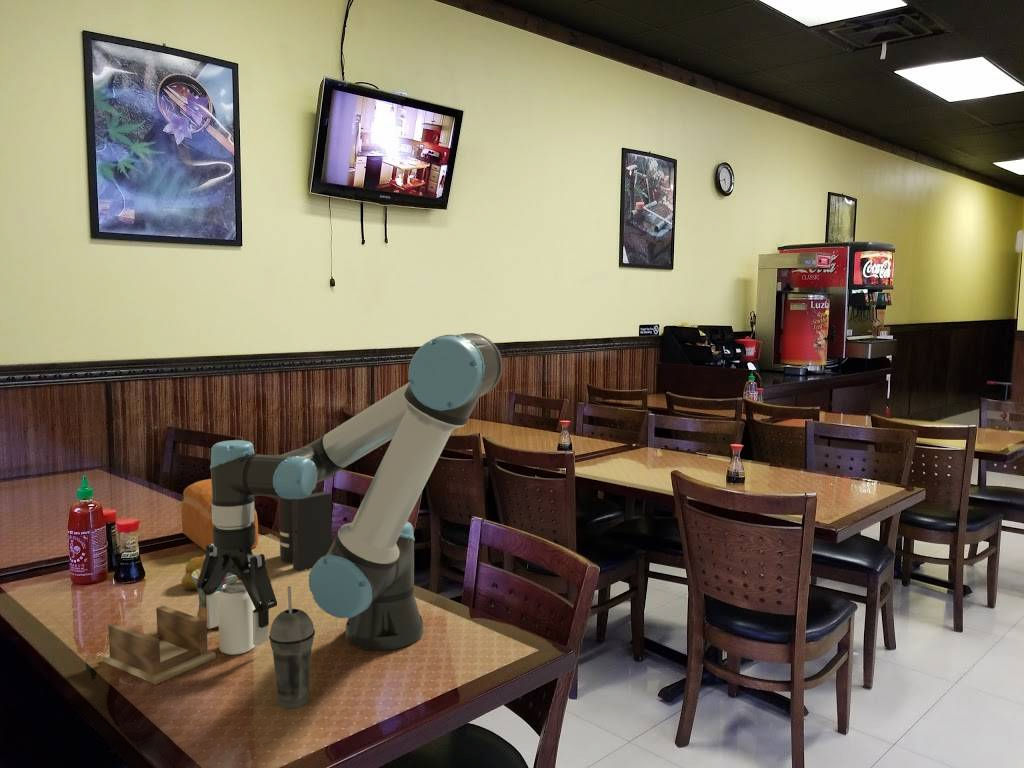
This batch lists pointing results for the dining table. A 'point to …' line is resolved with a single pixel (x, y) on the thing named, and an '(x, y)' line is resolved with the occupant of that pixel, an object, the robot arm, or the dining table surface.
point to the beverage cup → (292, 654)
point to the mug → (202, 605)
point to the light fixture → (305, 529)
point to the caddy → (160, 646)
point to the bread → (201, 514)
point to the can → (235, 619)
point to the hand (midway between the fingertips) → (236, 634)
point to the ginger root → (190, 568)
